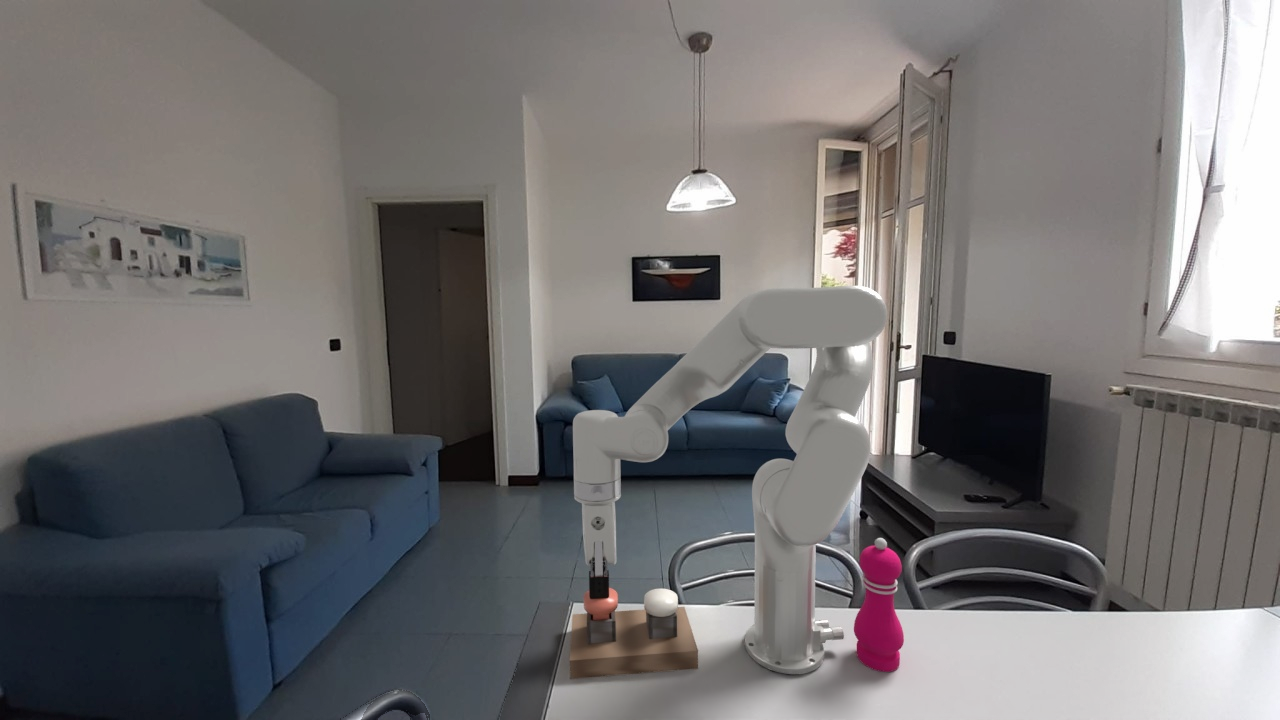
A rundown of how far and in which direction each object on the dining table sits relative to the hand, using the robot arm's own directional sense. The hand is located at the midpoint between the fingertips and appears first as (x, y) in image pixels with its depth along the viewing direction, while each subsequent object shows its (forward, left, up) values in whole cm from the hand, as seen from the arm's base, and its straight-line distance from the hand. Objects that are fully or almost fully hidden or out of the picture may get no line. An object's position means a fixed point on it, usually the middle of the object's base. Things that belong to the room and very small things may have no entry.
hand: (599, 595), depth 83 cm
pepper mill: (-44, +7, -10) cm, 46 cm away
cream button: (-10, 0, -6) cm, 12 cm away
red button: (0, 0, -5) cm, 5 cm away
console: (-5, 0, -10) cm, 11 cm away
